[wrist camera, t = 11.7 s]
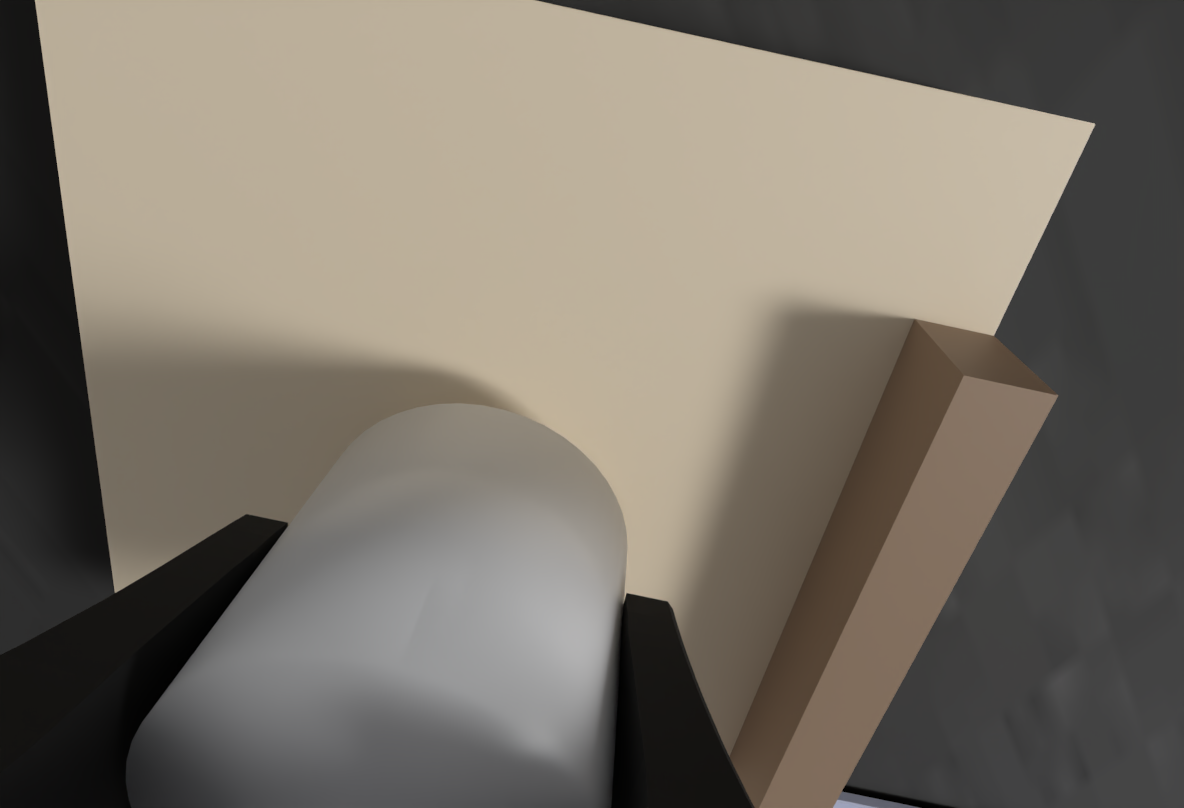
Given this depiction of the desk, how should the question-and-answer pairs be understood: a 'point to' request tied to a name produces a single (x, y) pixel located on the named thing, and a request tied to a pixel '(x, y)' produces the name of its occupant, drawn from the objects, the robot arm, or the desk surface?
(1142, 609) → the desk surface
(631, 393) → the box lid
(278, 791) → the bullet shaped knob
